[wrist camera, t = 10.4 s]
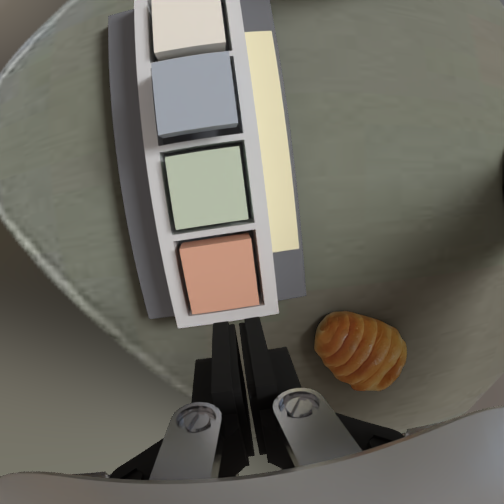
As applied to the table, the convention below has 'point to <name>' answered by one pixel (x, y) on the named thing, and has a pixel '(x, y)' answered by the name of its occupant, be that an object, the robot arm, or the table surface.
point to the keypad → (244, 135)
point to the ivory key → (187, 28)
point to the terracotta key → (220, 273)
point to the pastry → (360, 350)
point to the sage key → (206, 187)
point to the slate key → (194, 94)
